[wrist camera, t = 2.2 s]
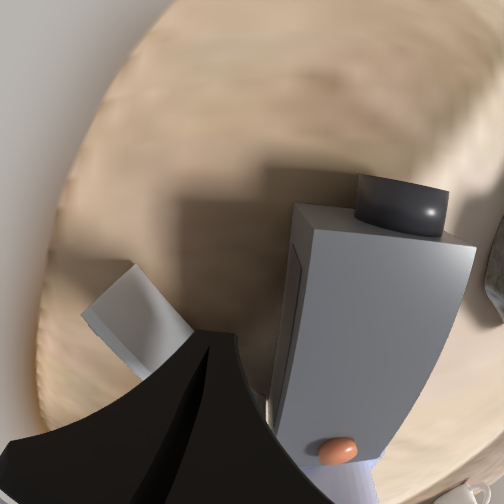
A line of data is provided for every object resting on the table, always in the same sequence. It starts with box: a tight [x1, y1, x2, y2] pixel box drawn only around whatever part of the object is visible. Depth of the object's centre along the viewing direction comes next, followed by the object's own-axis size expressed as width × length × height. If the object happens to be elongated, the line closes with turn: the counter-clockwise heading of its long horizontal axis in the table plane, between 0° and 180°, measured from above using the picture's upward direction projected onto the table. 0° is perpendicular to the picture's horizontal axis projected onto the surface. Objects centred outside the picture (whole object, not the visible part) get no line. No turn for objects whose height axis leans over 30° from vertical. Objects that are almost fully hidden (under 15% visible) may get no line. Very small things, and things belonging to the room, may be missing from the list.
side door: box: [81, 264, 266, 420], centre depth 12 cm, size 11×1×5 cm, turn 36°
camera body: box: [268, 174, 477, 467], centre depth 11 cm, size 14×6×6 cm, turn 176°
